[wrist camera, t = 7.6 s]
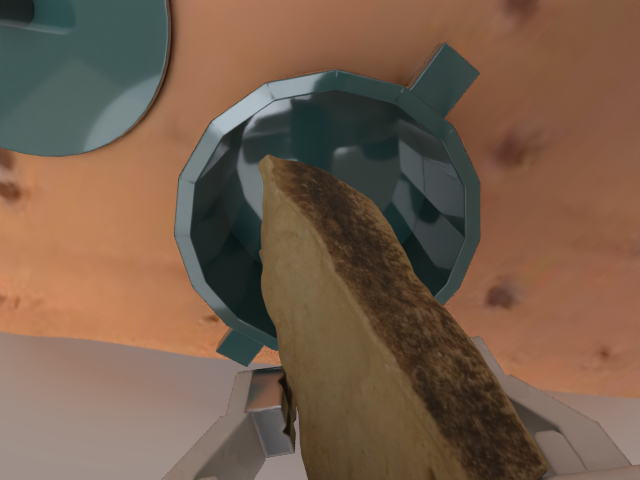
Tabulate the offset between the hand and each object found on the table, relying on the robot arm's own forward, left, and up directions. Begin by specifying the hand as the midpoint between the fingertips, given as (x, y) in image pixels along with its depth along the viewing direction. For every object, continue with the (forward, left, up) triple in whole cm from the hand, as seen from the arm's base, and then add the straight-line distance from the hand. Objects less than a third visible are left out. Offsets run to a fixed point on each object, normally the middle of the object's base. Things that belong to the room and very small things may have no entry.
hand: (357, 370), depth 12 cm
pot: (0, 0, -19) cm, 19 cm away
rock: (+1, 0, -5) cm, 5 cm away
